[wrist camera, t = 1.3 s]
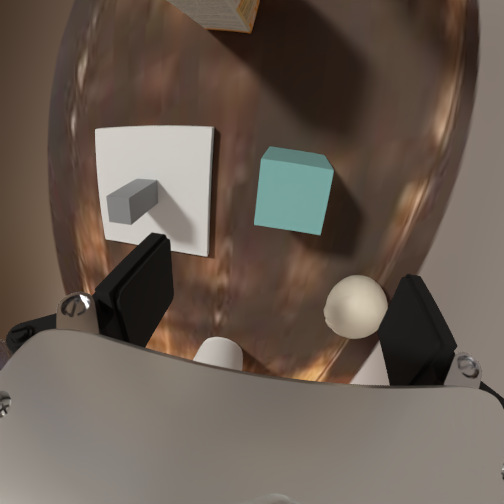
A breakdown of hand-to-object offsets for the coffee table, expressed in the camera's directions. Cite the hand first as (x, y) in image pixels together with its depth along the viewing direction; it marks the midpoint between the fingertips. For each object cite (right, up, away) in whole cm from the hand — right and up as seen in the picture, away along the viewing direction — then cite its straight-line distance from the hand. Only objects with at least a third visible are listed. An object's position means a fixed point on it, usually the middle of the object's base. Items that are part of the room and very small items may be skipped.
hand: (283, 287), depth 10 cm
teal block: (+3, +8, +15) cm, 17 cm away
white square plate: (-12, +8, +18) cm, 23 cm away
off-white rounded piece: (+11, -3, +21) cm, 23 cm away
